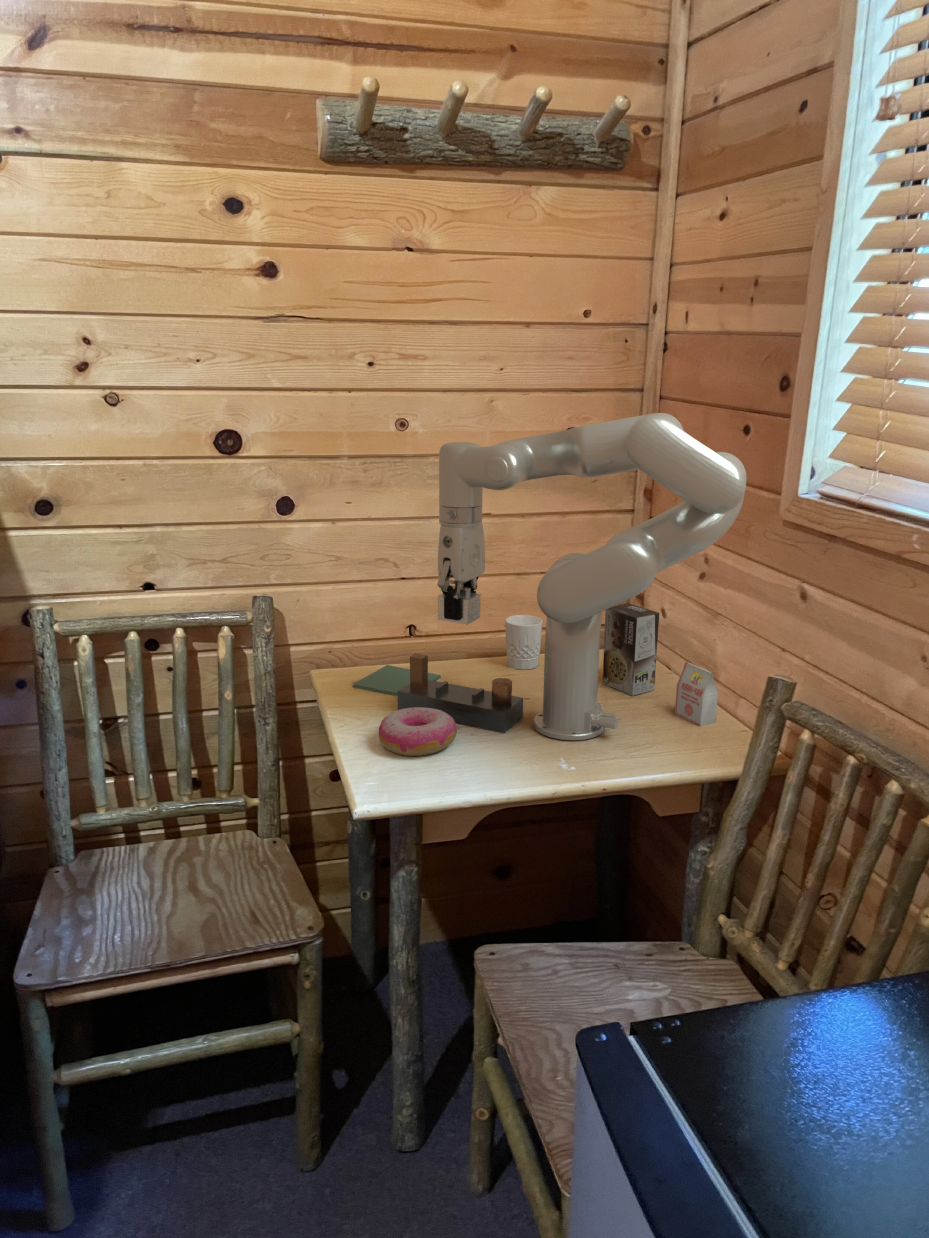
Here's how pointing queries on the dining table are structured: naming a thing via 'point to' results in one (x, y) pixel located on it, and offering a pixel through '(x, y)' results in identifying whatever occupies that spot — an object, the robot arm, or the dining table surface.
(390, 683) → the rubber mat
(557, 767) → the dining table surface
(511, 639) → the white cup
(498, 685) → the plane body
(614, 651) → the coffee box
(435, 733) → the donut
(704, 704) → the white gable carton
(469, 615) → the lever cap
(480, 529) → the robot arm
